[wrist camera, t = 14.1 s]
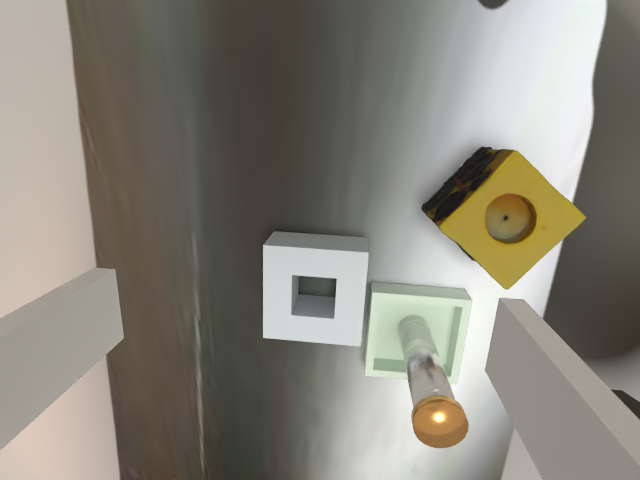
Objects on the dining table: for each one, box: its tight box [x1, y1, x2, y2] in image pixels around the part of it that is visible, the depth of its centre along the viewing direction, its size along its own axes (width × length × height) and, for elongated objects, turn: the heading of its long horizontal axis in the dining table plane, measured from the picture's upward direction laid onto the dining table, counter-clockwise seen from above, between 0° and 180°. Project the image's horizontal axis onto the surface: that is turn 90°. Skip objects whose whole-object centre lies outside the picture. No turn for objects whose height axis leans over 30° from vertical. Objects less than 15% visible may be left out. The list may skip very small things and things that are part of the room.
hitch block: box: [263, 231, 369, 346], centre depth 47 cm, size 12×12×6 cm
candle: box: [422, 147, 586, 289], centre depth 41 cm, size 10×10×10 cm
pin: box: [398, 315, 468, 448], centre depth 42 cm, size 5×5×17 cm
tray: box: [364, 282, 472, 384], centre depth 49 cm, size 12×12×3 cm
